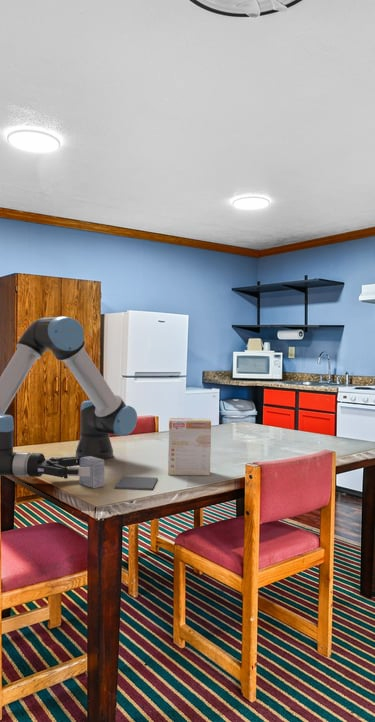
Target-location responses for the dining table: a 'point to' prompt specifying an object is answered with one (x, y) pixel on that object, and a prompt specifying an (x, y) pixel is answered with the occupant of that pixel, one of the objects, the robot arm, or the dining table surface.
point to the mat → (136, 483)
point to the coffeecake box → (189, 446)
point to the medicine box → (93, 472)
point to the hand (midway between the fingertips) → (95, 467)
